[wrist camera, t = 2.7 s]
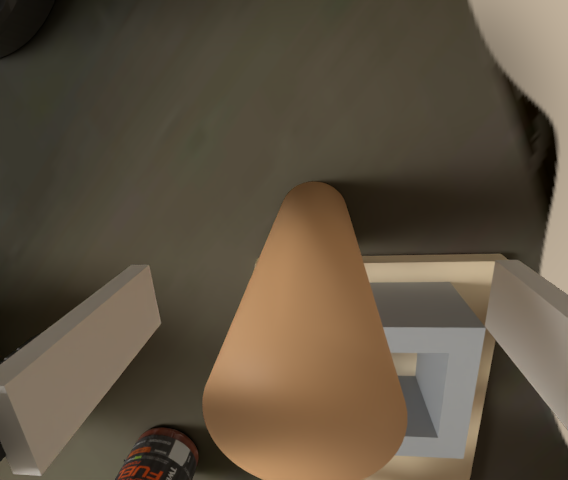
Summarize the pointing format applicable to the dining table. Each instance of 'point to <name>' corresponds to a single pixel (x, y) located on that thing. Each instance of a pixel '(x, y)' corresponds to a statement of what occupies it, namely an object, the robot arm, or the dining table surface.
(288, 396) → the peg
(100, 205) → the dining table surface
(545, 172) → the dining table surface
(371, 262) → the board
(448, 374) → the socket
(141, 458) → the supplement bottle
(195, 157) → the dining table surface
